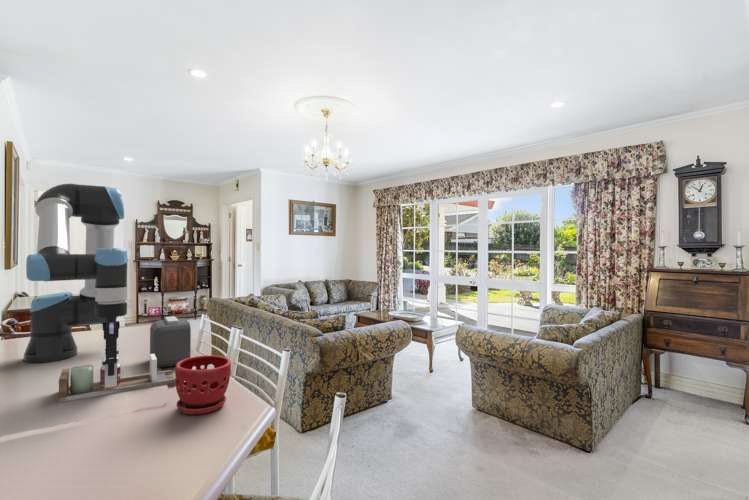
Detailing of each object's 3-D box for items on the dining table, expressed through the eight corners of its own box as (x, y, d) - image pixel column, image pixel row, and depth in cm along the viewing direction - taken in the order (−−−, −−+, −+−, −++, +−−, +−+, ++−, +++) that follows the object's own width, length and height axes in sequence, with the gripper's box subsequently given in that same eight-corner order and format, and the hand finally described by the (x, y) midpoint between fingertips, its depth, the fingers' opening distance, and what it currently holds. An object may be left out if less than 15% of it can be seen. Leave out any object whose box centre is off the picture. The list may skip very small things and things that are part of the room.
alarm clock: (190, 365, 133) (190, 320, 133) (152, 371, 126) (153, 324, 126) (183, 354, 146) (183, 313, 146) (149, 358, 140) (149, 316, 140)
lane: (62, 394, 106) (62, 368, 106) (171, 376, 122) (171, 354, 121) (58, 406, 98) (58, 379, 98) (176, 385, 113) (176, 362, 113)
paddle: (149, 376, 117) (149, 354, 117) (164, 374, 119) (164, 352, 119) (152, 383, 111) (152, 359, 111) (167, 381, 113) (167, 357, 113)
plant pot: (174, 423, 89) (175, 372, 89) (175, 402, 101) (175, 357, 101) (233, 412, 95) (234, 365, 95) (227, 394, 107) (227, 352, 107)
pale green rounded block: (70, 391, 105) (71, 366, 105) (93, 388, 108) (93, 363, 108) (69, 397, 101) (69, 371, 101) (92, 393, 104) (93, 368, 104)
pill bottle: (110, 391, 105) (110, 361, 105) (95, 390, 106) (95, 360, 106) (124, 385, 110) (124, 356, 110) (110, 384, 111) (110, 355, 111)
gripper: (95, 298, 114) (95, 374, 114) (94, 308, 97) (93, 396, 98) (125, 297, 119) (124, 370, 119) (128, 305, 102) (128, 390, 102)
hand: (110, 382), depth 108 cm, fingers open, 8 cm apart
